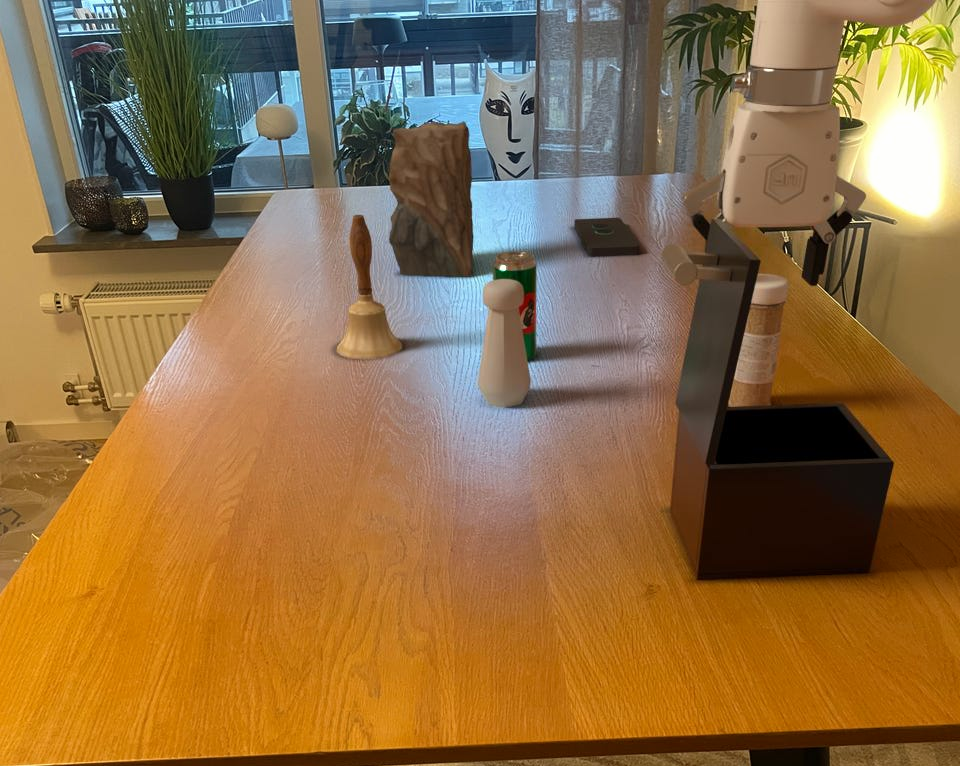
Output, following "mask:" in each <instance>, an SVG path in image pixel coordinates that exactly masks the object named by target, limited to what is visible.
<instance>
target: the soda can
mask: <svg viewBox="0 0 960 766" xmlns="http://www.w3.org/2000/svg"><path fill="white" fill-rule="evenodd" d="M537 278H538V277H537V264H536V261H535V260H534V255H533V253H531V252H527V251H519V250H518V251H517V250H515V251H514V250H513V251H511V250H510V251H504V252H500V253H498V254H496V255H495V261H494V263H493V265H492V281H493V280H498V279H511V280H516V281H518V282H520V283H521V285H522V286H523V291H524V301H523V304H522V305H521V306H519V307H518V308H519V314H520V320H521V326H522V331H523V337H524V343H525V349H526V355H527V361H530V360H533V359H534V358H535V356H536V355H537V285H538V284H537V283H538V282H537Z"/></svg>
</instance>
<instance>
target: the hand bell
mask: <svg viewBox="0 0 960 766" xmlns="http://www.w3.org/2000/svg"><path fill="white" fill-rule="evenodd" d="M349 248H350V254H351V255H350V256H351V258H352V262H353V264H354V267H355V271H356V277H357V293H358V301H356V302H355V303H353V304H351V305H350V306H349V308H348V319H347V328H346V332H345V335H344V336H343V339H342V340H341V341H340V343H339V344H338V345H337V348H336V353H337V354H338V355H340V356H342V357H344V358H348V359H354V360H374V359H381V358H386V357H390V356H392V355H395V354H397V353H399V352H400V351H402V349H403V344H402V341H400V339H399V338H397V337H396V336H395V334H394V333H393V331H392V329H391V327H390V325H389V321H388V318H387V313H386V308H385V306H384V305H383V304H382V303H380V302H378V301H376V300H375V299H374V295H373V287H372V280H371V270H370V269H371V263H372V258H373V243H372V236H371V233H370V230H369V228H368V225H367V223H366V220H365V215H363V214H355V215H352V221H351V226H350V231H349Z"/></svg>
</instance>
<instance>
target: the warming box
mask: <svg viewBox="0 0 960 766" xmlns="http://www.w3.org/2000/svg"><path fill="white" fill-rule="evenodd" d="M677 415H678V416H677V417H678V418H677V428H676V441H675V450H674V461H673V471H672V472H673V474H672V484H671V493H670V494H671V495H670V507H669V513H670V516H671V518H672V521H673V523H674V526H675V528H676V531H677V533H678V536H679V539H680V541H681V544H682V546H683V549H684V552H685V554H686V557H687V560H688V561H689V564H690V566H691V569H692V571H693V574H694V577H695V580H696V581H718V580H742V579H743V580H744V579H745V580H746V579H765V578H767V579H768V578H791V577H817V576H818V577H819V576H841V575H845V576H846V575H866V574H870V571H871V567H872V562H873V558H874V554H875V549H876V545H877V540H878V535H879V531H880V527H881V523H882V519H883V513H884V509H885V506H886V501H887V496H888V492H889V487H890V483H891V478H892V474H893V469H894V465H895V461H894V460H893V459H892V458H891V456H889V454H888V453H887V452H886V451H885V450H884V449H883V448H882V447H881V445H880V444H879V442H878V441H876V439H875V438H874V437H873V436H872V434H871V433H870V432H869V431H868V430H867V429H866V427H864V425H863V424H862V423H861V422H860V420H859V419H858V418H857V417H856V416H855V415H854V414H853V412H851V410H850V409H849V408H848V407H847V406H846V404H845V403H844V402H818V403H817V402H816V403H795V404H794V403H793V404H792V403H791V404H771V405H764V406H738V407H730V406H728V407H727V411H726V416H725V420H724V425H723V429H722V433H721V438H720V442H719V446H718V451H717V455H716V460H715V464H705V462H704V460H703V458H702V456H701V454H700V452H699V450H698V448H697V446H696V444H695V442H694V440H693V438H692V436H691V434H690V432H689V430H688V428H687V426H686V424H685V422H684V420H683V418H682V416H681V414H680V412H679V411H678V414H677Z"/></svg>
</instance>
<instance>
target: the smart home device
mask: <svg viewBox="0 0 960 766" xmlns="http://www.w3.org/2000/svg"><path fill="white" fill-rule="evenodd" d="M573 224H574V227H573V228H574V231H575V233H576V235H577V237H578V238H579V241H580V242H581V245H582V246H583V248H584V250H585V252H586V254H587V256H588V257H590V258H599V257H600V258H602V257H603V258H604V257H624V256H626V257H627V256H639V253H640V244H639V242H638V241H637V239H636V238H635V237H634V235H633V234H632V233H631V231H630V229H629V228H628V227H627V226H626V224H625V223H624V221H623V220H622V219H621V217H598V218H575V219H574V223H573Z"/></svg>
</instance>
